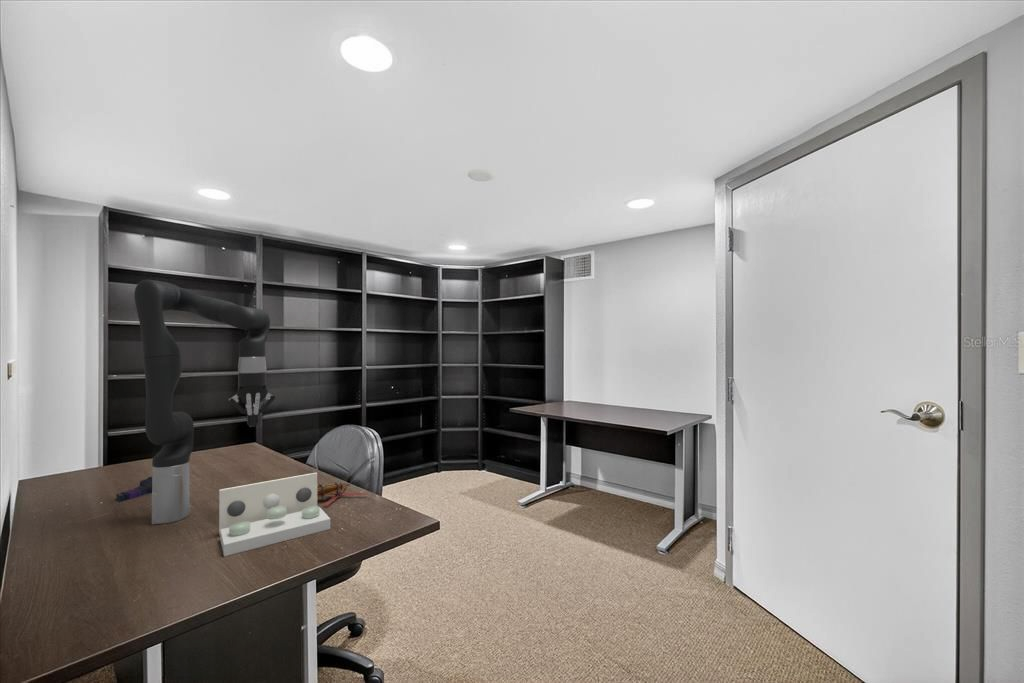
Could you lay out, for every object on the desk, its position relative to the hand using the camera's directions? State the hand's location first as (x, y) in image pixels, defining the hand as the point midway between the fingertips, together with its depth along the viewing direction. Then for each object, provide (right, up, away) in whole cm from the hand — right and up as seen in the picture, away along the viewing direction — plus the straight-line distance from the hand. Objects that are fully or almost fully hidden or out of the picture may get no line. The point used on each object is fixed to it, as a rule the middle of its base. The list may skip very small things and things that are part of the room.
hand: (252, 426), depth 133 cm
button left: (+7, -26, -17) cm, 31 cm away
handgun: (-60, -31, +28) cm, 73 cm away
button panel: (+14, -29, -11) cm, 34 cm away
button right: (+21, -26, -6) cm, 34 cm away
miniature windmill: (+14, -30, +14) cm, 35 cm away
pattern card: (+8, -29, -4) cm, 30 cm away
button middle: (+14, -23, -11) cm, 30 cm away
